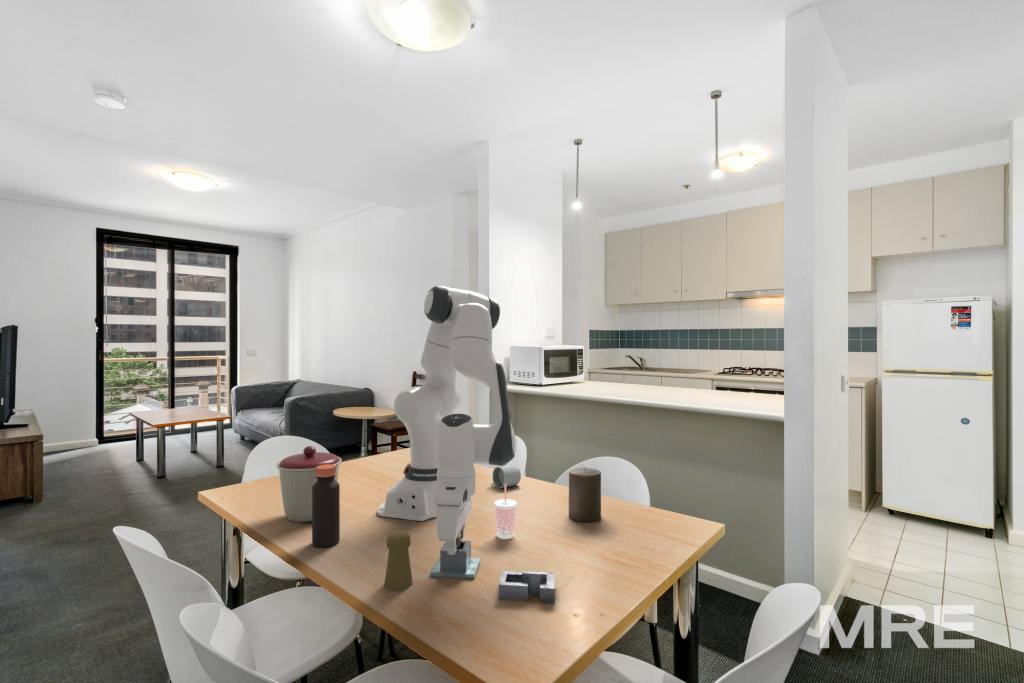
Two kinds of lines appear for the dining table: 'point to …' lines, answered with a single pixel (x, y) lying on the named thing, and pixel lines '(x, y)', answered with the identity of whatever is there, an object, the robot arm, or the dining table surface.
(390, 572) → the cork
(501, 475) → the ceramic mug
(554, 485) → the dining table surface
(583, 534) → the dining table surface
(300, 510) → the canister
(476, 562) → the grey plate with post
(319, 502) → the bottle
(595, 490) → the pillar candle
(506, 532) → the beverage cup
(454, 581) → the dining table surface
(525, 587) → the chain tail
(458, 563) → the end link
